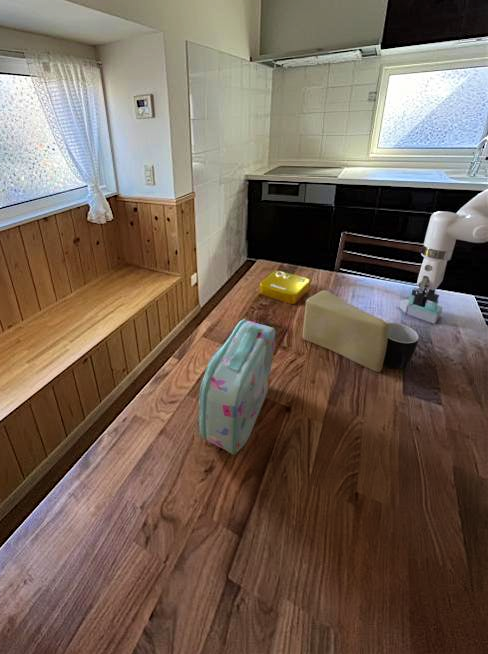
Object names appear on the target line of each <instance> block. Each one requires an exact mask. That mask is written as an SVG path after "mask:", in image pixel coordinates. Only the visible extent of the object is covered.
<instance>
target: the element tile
mask: <svg viewBox="0 0 488 654" xmlns="http://www.w3.org/2000/svg"><path fill="white" fill-rule="evenodd" d="M309 290H310V279H309V278H307V277H303V276H300V275H297V274H293V273H288V272H285V271H282V270H274V271H272V272H271V273H270V274H269V275H268V276H266V277H265V278H264V279H263V280H261V281H260V282H259V294H260V295H262V296H264V297H268V298H271V299H274V300H277V301H280V302H283V303H286V304H289V305H295V304H296V303H298V302H299V301H300V300H301V299H302V298H303V297H304V296H305V294H306V293H307V292H308V291H309Z"/></svg>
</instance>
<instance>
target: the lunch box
mask: <svg viewBox="0 0 488 654" xmlns="http://www.w3.org/2000/svg"><path fill="white" fill-rule="evenodd" d="M275 344H276V329H275V328H274V327H271V326H268V325H266V324H261V323H257V322H254V321H252V320H248V319H246V318H243V319H241V320H240V321H239V322H238V323H237V324H236V326H235V327H234V329H233V330H232V332H231V333H230V335H229V337H228V338H227V339H226V341H225V342H224V343H223V345H222V346H221V347H220V348H219V349H218V350H217V351H216V352H215V353H214V355H213V356H212V357H211V359H210V360H209V362H208V364H207V366H206V369H205V372H204V375H203V379H202V381H201V383H200V388H199V416H198V417H199V418H198V430H199V434H200V437H201V438H202V439H203V440H204V441H206V442H209V443H210V444H213V445H214V446H216V447H218V448H221V449H222V450H225V451H226V452H228V453H229V454H231V455H237V454H238V453H239V452H240V451H241V449H242V448H243V447H244V446H245V445H246V444H247V442H248V440H249V438H250V436H251V434H252V431H253V429H254V427H255V424H256V421H257V419H258V416H259V414H260V412H261V409H262V407H263V404H264V402H265V399H266V397H267V394H268V389H269V385H270V382H271V381H270V380H271V373H272V364H273V359H274V351H275Z"/></svg>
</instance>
